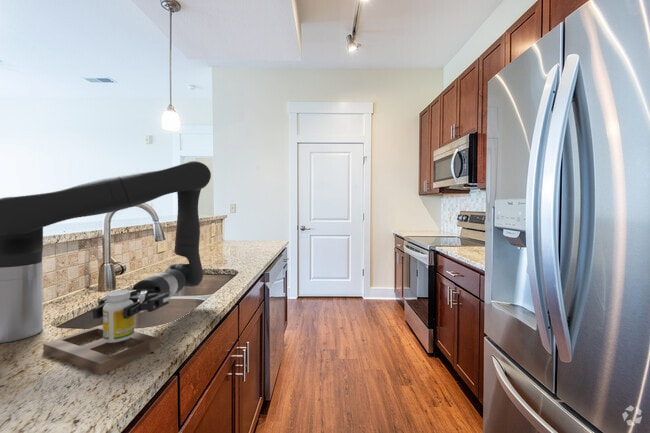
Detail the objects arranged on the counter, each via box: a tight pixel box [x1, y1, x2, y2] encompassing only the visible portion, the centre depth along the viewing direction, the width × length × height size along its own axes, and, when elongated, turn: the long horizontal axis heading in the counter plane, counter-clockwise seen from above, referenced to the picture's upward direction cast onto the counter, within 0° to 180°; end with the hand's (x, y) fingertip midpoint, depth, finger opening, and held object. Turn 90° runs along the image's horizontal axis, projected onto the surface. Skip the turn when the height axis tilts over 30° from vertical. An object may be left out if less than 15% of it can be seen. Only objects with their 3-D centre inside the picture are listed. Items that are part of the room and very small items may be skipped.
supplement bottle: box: [102, 289, 135, 343], centre depth 62 cm, size 5×5×10 cm
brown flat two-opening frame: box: [42, 324, 162, 376], centre depth 64 cm, size 20×12×2 cm, turn 67°
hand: (110, 313), depth 59 cm, fingers closed on supplement bottle, 5 cm apart
